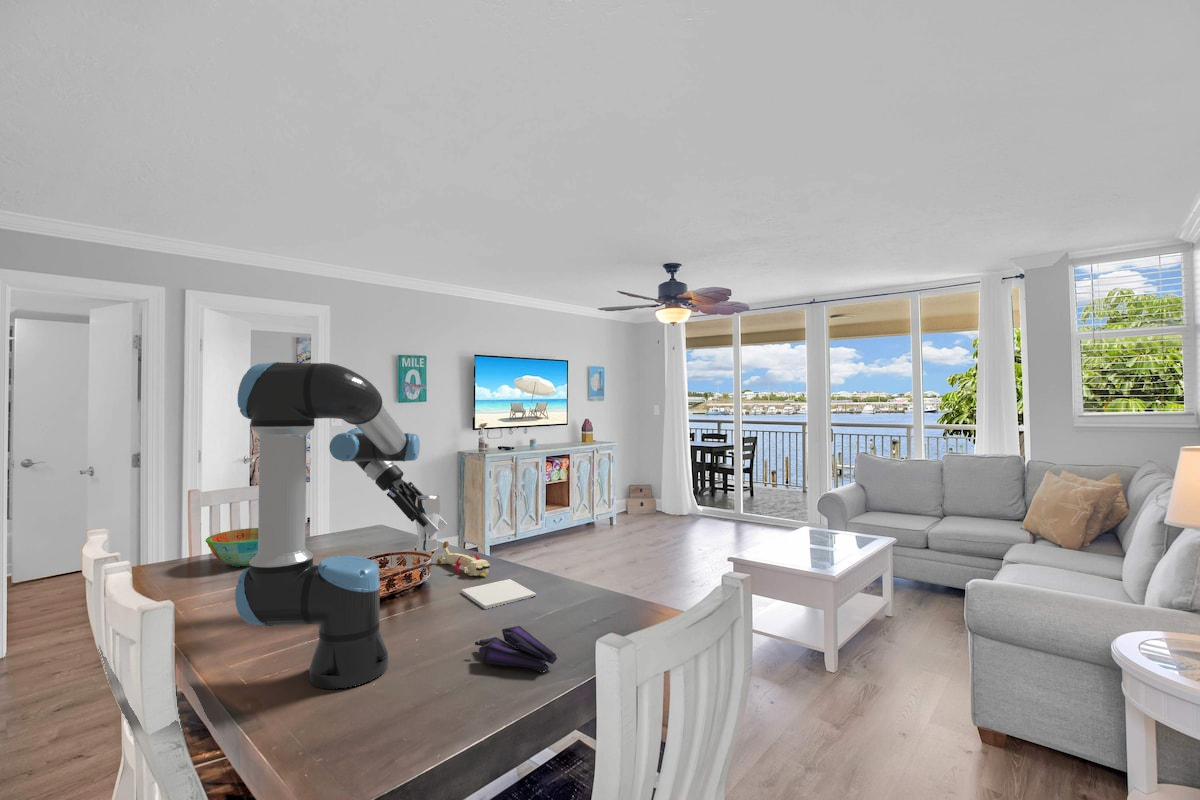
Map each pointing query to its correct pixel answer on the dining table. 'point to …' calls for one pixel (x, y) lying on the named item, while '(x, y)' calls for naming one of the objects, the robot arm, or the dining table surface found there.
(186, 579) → the dining table surface
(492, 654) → the crystal
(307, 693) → the dining table surface
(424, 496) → the silver tall cylinder
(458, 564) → the cream toy animal
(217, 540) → the bowl
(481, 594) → the mat
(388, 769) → the dining table surface
